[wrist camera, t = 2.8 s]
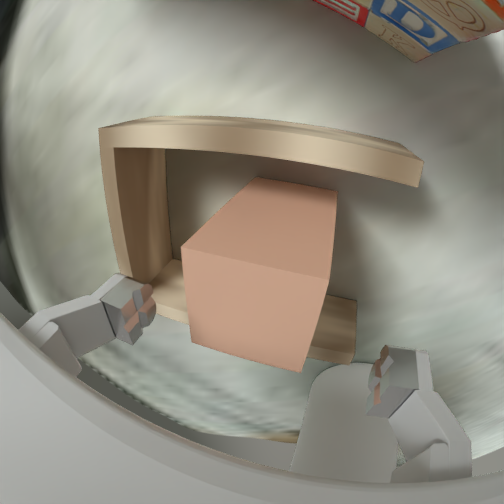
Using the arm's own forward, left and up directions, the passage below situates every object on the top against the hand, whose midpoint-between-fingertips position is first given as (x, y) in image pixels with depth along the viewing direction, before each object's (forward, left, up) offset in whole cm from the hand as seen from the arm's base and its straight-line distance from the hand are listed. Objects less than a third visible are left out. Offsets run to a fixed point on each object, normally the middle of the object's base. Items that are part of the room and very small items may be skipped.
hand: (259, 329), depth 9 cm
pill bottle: (+7, -14, -9) cm, 18 cm away
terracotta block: (-1, 0, -8) cm, 8 cm away
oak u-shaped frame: (-3, 0, -8) cm, 9 cm away
